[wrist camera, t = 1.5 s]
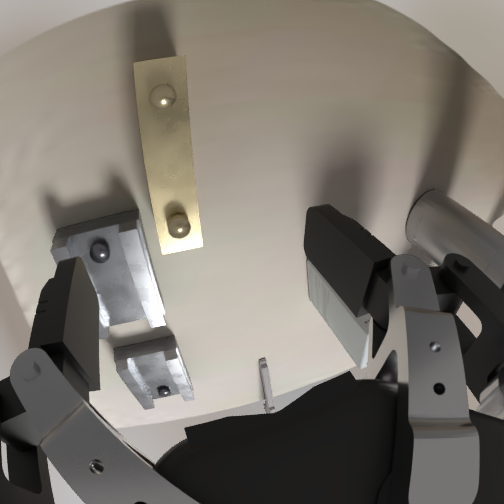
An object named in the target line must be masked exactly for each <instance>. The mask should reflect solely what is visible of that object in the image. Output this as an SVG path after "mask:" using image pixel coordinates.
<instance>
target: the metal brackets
mask: <svg viewBox="0 0 504 504" xmlns="http://www.w3.org/2000/svg"><path fill="white" fill-rule="evenodd" d="M52 242H53V245H52V248H51V250H50V251H51V253H52V255H53V258H54V260H55V262H56V264H57V265H58V262H59V261H61V260H65V259H69V258H73V257H77V256H80V257H81V258H82V260H83V262H84V265H85V267H86V270H87V272H88V274H89V277H90V279H91V281H92V284H93V286H94V288H95V290H96V293H97V296H98V300H99V307H100V312H99V339H102V338H107V337H109V326H113V325H117V324H122V323H127V322H131V321H136V320H141V319H145V318H147V319H148V321H149V324H150V326H151V328H154V327H159V326H163V325H166V324H165V319H164V314H165V308H164V303H163V299H162V295H161V292H160V289H159V285H158V282H157V278H156V275H155V271H154V268H153V264H152V260H151V257H150V253H149V249H148V245H147V241H146V237H145V233H144V229H143V225H142V221H141V216H140V212H139V209H136V210H132V211H127V212H123V213H119V214H115V215H111V216H107V217H102V218H99V219H95V220H91V221H87V222H83V223H79V224H75V225H72V226H68V227H64V228H61V229H57V231H56V233H55V236H54V238H53V241H52ZM114 361H115V363H116V371H117V373H118V374H119V375H120V377H121V378H122V380H123V381H124V383H125V384H126V385H127V387H128V388H129V389H130V391H131V392H132V394H133V395H134V396H135V397H136V399H137V400H138V401H139V403H140V404H141V405H142V407H143V408H144V409H145V410H146V409H152V408H154V402H153V399H157V398H162V397H167V396H171V395H176V394H180V393H181V395H182V397H183V399H184V401H189V400H193V399H194V395H193V392H192V391H193V387H192V383H191V380H190V377H189V374H188V372H187V369H186V366H185V364H184V361H183V358H182V356H181V353H180V350H179V347H178V344H177V342H176V339H175V336H170V337H165V338H161V339H156V340H152V341H147V342H143V343H138V344H133V345H128V346H123V347H118V348H114Z"/></svg>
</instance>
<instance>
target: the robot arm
mask: <svg viewBox="0 0 504 504" xmlns="http://www.w3.org/2000/svg"><path fill="white" fill-rule="evenodd" d="M406 236H407V238H408V240H409V241H410V242H411V243H412V244H414V245H415V246H416V247H417V248H418V249H420V250H421V251H422V252H423V253H424V254H425V255H426V256H428V257H429V258H430V259H431V260H432V261H433V262H435V263H436V264H437V265H438V266H436V267H428V266H427V265H426V263H424V262H423V261H422V260H420V259H419V258H417V257H414V256H412V255H406V254H401V255H395V254H394V253H393V252H392V251H391V250H390V249H388V248H387V247H386V246H385V245H384V244H383V243H381V242H380V241H379V240H378V239H377V238H376V237H374V236H372V235H371V233H370V232H369V231H367V230H366V229H365V230H364V227H363V226H361V225H360V224H359V223H358V222H356V221H355V220H353V219H351V218H349V217H347V216H345V215H342V214H341V213H340V212H339V211H337V210H336V209H335V208H334V207H332V206H331V205H329V204H325V205H320V206H314V207H310V208H308V210H307V214H306V225H305V236H304V250H305V254H306V256H307V258H308V260H309V261H310V262H311V263H312V264H313V266H314V267H315V268H316V269H317V270H318V272H319V273H320V274H321V275H322V276H323V278H324V279H325V280H326V281H327V282H328V284H329V285H330V286H331V287H332V288H333V290H334V291H335V292H336V293H337V294H338V296H339V297H340V298H341V299H342V301H343V302H344V303H345V304H346V306H347V307H348V308H349V309H350V310H351V312H352V313H353V314H354V315H355V317H356V318H358V317H361V316H363V315H366V314H368V313H369V314H370V315H371V316H372V317H371V319H370V322H369V343H368V362H367V369H366V373H365V376H364V379H361V380H356V379H355V378H354V376H353V375H352V373H351V372H350V371H348V372H346V373H344V374H342V375H340V376H338V377H335V378H333V379H331V380H328V381H326V382H324V383H321V384H319V385H317V386H314V387H313V388H312V389H310V390H309V391H307V392H306V393H305V394H303V395H302V396H301V397H299V398H298V399H296V400H295V401H294V402H292V403H291V404H289V405H288V406H286V407H285V408H283V409H282V410H280V411H278V412H275V413H267V414H257V415H245V416H230V417H225V418H222V419H218V420H214V421H210V422H207V423H203V424H198V425H194V426H190V427H186V428H184V429H185V432H186V436H187V439H185V440H183V441H181V442H179V443H178V444H176V445H175V446H174V447H172V448H171V449H169V450H168V451H167V452H166V453H165V454H164V455H163V456H162V457H161V458H160V459H159V460H158V462H157V463H156V464H155V463H154V462H153V461H152V460H150V459H149V458H148V457H146V456H145V455H144V454H143V453H142V452H141V451H139V450H138V449H137V448H136V447H134V446H133V445H132V444H131V443H130V442H129V441H128V440H127V439H126V438H124V437H123V436H122V435H121V434H120V433H119V432H118V431H117V430H116V429H115V428H114V427H113V426H112V425H111V424H110V423H109V422H108V421H107V420H106V419H105V418H104V417H103V416H102V415H101V414H100V413H99V412H98V411H97V410H96V409H95V407H94V406H93V405H92V404H91V403H90V402H89V391H96V390H100V374H99V312H100V307H99V300H98V296H97V293H96V290H95V288H94V286H93V284H92V281H91V279H90V277H89V274H88V272H87V270H86V267H85V265H84V262H83V260H82V258H81V257H80V256H77V257H73V258H69V259H65V260H61V261H59V262H58V265H57V269H56V272H55V276H54V278H51V279H49V280H48V282H47V283H46V284H45V286H44V287H43V289H42V290H41V294H40V298H39V301H38V303H39V305H37V309H36V315H35V318H34V322H33V327H32V332H31V337H30V342H29V347H28V350H25V351H24V352H22V353H21V354H20V355H19V356H18V357H17V358H16V359H15V361H14V363H13V364H12V366H11V370H10V376H9V377H7V378H5V379H3V380H1V381H0V504H55V503H54V498H53V493H52V488H51V483H50V476H49V470H48V463H47V457H48V459H49V460H50V461H51V463H52V464H53V465H54V467H55V468H56V469H57V471H58V472H59V473H60V475H61V476H62V477H63V478H64V480H65V481H66V482H67V483H68V484H69V486H70V487H71V488H72V489H73V490H74V492H75V493H76V494H77V495H78V496H79V497H80V498H81V500H82V501H83V502H84V503H86V504H504V235H502V234H501V233H500V232H498V231H497V230H496V229H494V228H493V227H492V226H490V225H489V224H488V223H486V222H485V221H483V220H482V219H481V218H479V217H478V216H476V215H475V214H473V213H472V212H471V211H469V210H468V209H466V208H465V207H463V206H462V205H460V204H459V203H457V202H456V201H454V200H453V199H451V198H449V197H448V196H446V195H445V194H443V193H441V192H440V191H438V190H431V191H428V192H427V193H425V194H424V195H423V196H422V197H421V198H420V199H419V200H418V201H417V203H416V204H415V206H414V207H413V209H412V211H411V213H410V215H409V218H408V221H407V226H406ZM463 301H464V302H465V304H466V305H467V306H468V307H469V308H470V309H471V310H472V311H473V312H474V313H475V314H476V315H477V317H478V318H479V319H480V321H481V324H482V331H481V333H480V335H479V336H478V337H477V338H476V337H475V336H474V335H473V334H472V332H470V330H469V329H468V328H467V327H466V326H465V324H464V323H463V322H462V321H461V320H460V319H459V317H458V316H457V315H456V313H457V311H458V309H459V308H460V305H461V304H462V302H463ZM466 385H467V386H468V387H469V389H470V390H471V392H472V393H473V395H474V396H475V397H476V399H477V400H478V402H479V403H480V406H479V407H478V408H477V409H476V411H474V410H470V409H469V408H468V396H467V388H466ZM1 441H2V442H4V443H6V446H7V463H8V473H9V481H8V480H7V478H6V477H5V475H4V472H3V469H2V457H1Z"/></svg>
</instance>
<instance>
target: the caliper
mask: <svg viewBox="0 0 504 504" xmlns="http://www.w3.org/2000/svg"><path fill="white" fill-rule="evenodd" d="M259 363H260V364H259V365H260V372H261V377H262V382H263V388H264V393H265V398H266V401H265V402H266V403H265V404H264V406H265V407H264V409H265V411H266V413H275V408H274V404H273V397H272V390H271V384H270V378H269V372H268V366H267V364H266V359H265V358H263V359H261V360H259Z"/></svg>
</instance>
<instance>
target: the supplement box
mask: <svg viewBox="0 0 504 504" xmlns="http://www.w3.org/2000/svg"><path fill="white" fill-rule="evenodd" d="M307 271H308V284H309V298H310V301H311V302H312V303H313V305H314V306H315V308H316V309H317V310H318V312H319V313H320V315H321V316H322V317H323V319H324V320H325V321H326V323H327V324H328V326H329V327H330V328H331V330H332V331H333V333H334V334H335V335H336V337H337V338H338V340H339V341H340V342H341V344H342V345H343V347H344V348H345V349H346V351H347V352H348V354H349V355H350V357H351V358H352V359H353V361H354V362H355V364H356V365H357V366H358V368H359V369H361V368H364V367H366V366H367V362H368V343H369V322H370V319H371V317H372V316H371V315H370V314H369V313H368V314H366V315H363V316H361V317H358V318H356V317H355V315H354V314H353V313H352V312H351V310H350V309H349V308H348V307H347V306H346V304H345V303H344V302H343V301H342V299H341V298H340V297H339V296H338V294H337V293H336V292H335V291H334V290H333V288H332V287H331V286H330V285H329V284H328V282H327V281H326V280H325V279H324V278H323V276H322V275H321V274H320V273H319V272H318V270H317V269H316V268H315V267H314V266H313V264H312V263H311V262H310V261H309V260H307Z"/></svg>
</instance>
